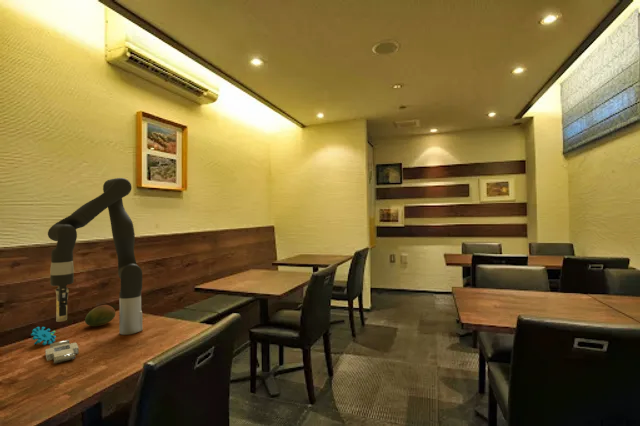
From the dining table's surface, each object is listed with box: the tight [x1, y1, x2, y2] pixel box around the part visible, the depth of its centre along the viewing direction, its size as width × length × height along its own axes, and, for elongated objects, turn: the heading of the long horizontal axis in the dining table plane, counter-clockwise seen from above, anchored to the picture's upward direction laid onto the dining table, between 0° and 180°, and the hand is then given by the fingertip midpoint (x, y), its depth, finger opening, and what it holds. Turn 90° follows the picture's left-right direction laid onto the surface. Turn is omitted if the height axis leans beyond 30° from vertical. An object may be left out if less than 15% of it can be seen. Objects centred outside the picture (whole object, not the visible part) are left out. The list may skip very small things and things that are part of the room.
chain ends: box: [45, 339, 80, 365], centre depth 132 cm, size 10×22×3 cm, turn 43°
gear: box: [30, 326, 57, 346], centre depth 143 cm, size 11×6×10 cm
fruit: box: [84, 304, 116, 327], centre depth 167 cm, size 12×13×10 cm
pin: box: [55, 299, 68, 322], centre depth 132 cm, size 4×4×9 cm
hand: (62, 314), depth 132 cm, fingers closed on pin, 3 cm apart
